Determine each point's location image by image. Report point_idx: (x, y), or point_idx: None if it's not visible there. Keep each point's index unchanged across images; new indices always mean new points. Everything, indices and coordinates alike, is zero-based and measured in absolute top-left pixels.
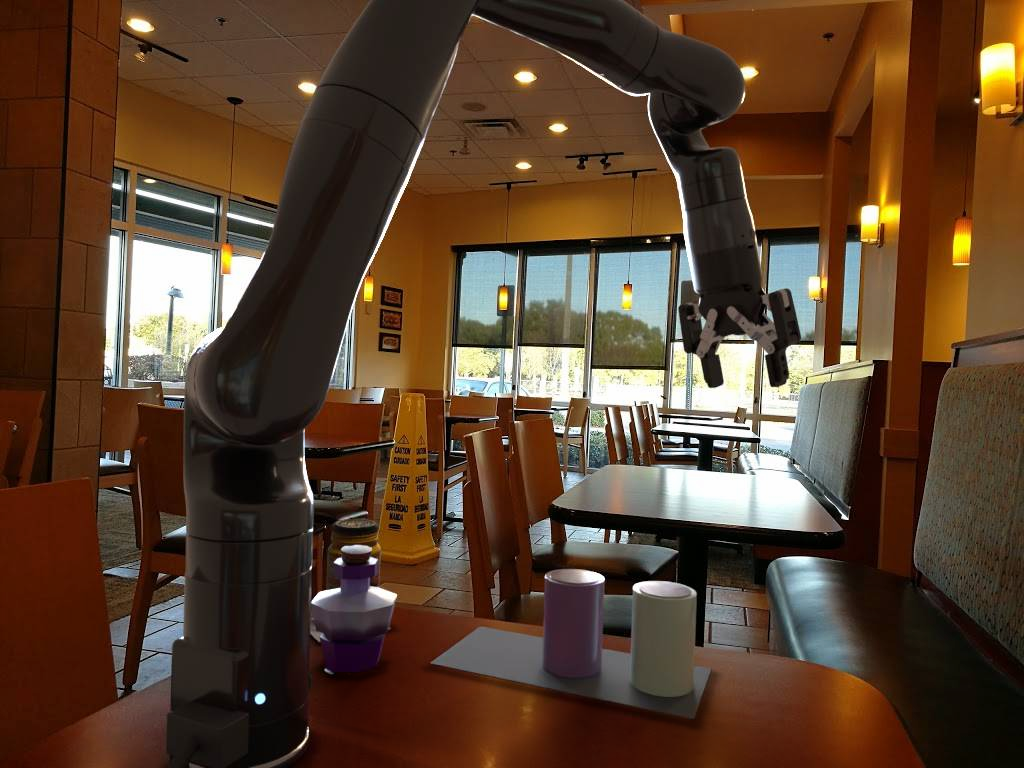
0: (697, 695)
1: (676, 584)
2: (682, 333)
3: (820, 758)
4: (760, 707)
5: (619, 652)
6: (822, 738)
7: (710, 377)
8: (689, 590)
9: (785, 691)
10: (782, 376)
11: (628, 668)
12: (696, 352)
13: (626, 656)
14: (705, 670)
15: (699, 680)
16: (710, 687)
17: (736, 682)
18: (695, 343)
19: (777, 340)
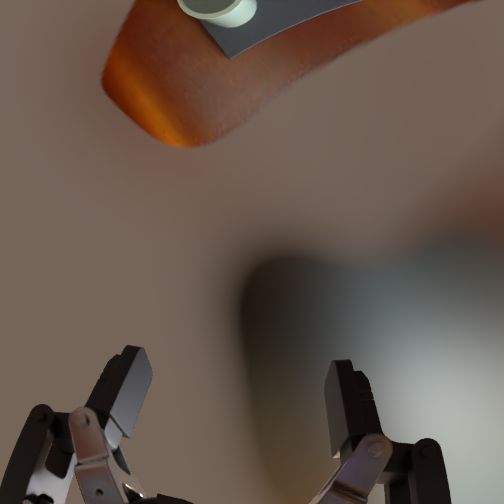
0: None
1: (215, 9)
2: (446, 495)
3: (115, 40)
4: (172, 50)
5: (299, 19)
6: (128, 57)
7: (339, 381)
8: (192, 8)
9: (181, 85)
10: (109, 364)
11: (267, 3)
12: (392, 448)
13: (288, 18)
14: (229, 51)
15: (217, 33)
16: (213, 41)
17: (209, 65)
18: (402, 476)
19: (65, 434)
